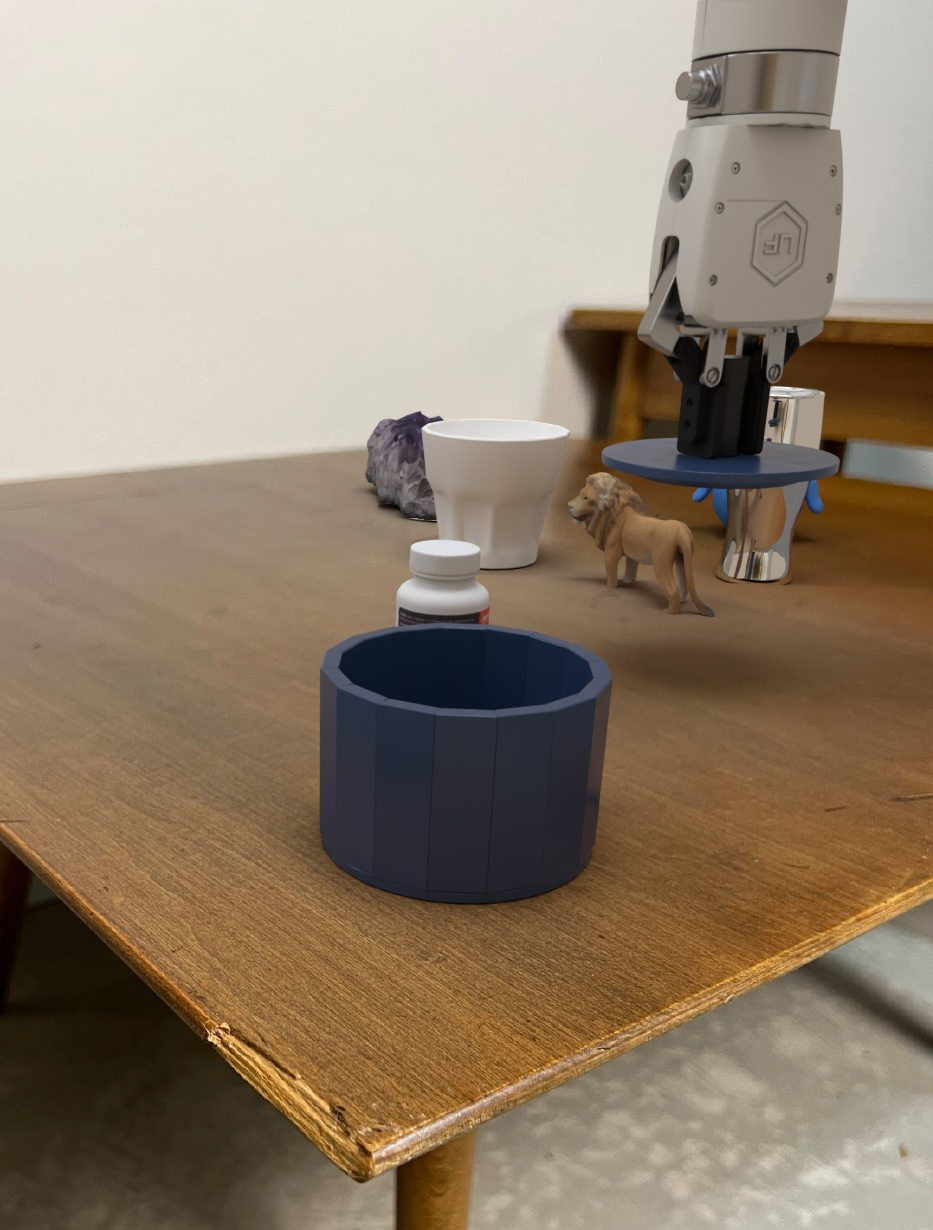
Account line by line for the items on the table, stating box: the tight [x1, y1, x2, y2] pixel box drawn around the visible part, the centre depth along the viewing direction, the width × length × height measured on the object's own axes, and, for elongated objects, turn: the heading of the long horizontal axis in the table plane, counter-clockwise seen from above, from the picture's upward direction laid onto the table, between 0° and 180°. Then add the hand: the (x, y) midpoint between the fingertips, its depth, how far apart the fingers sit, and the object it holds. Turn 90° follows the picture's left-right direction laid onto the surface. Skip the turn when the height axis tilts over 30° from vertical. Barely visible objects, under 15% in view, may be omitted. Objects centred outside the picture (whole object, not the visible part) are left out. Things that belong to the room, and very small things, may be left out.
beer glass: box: [715, 385, 826, 586], centre depth 99 cm, size 7×7×15 cm
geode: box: [364, 410, 445, 521], centre depth 127 cm, size 20×12×10 cm, turn 7°
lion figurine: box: [567, 472, 715, 617], centre depth 93 cm, size 15×5×9 cm, turn 33°
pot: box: [319, 623, 613, 904], centre depth 55 cm, size 13×13×8 cm
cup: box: [422, 418, 571, 570], centre depth 105 cm, size 12×12×11 cm
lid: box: [601, 354, 841, 489], centre depth 71 cm, size 14×14×7 cm
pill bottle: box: [394, 539, 491, 627], centre depth 71 cm, size 5×5×10 cm
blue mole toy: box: [692, 480, 824, 527], centre depth 114 cm, size 12×12×8 cm
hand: (718, 450), depth 72 cm, fingers closed on lid, 2 cm apart
